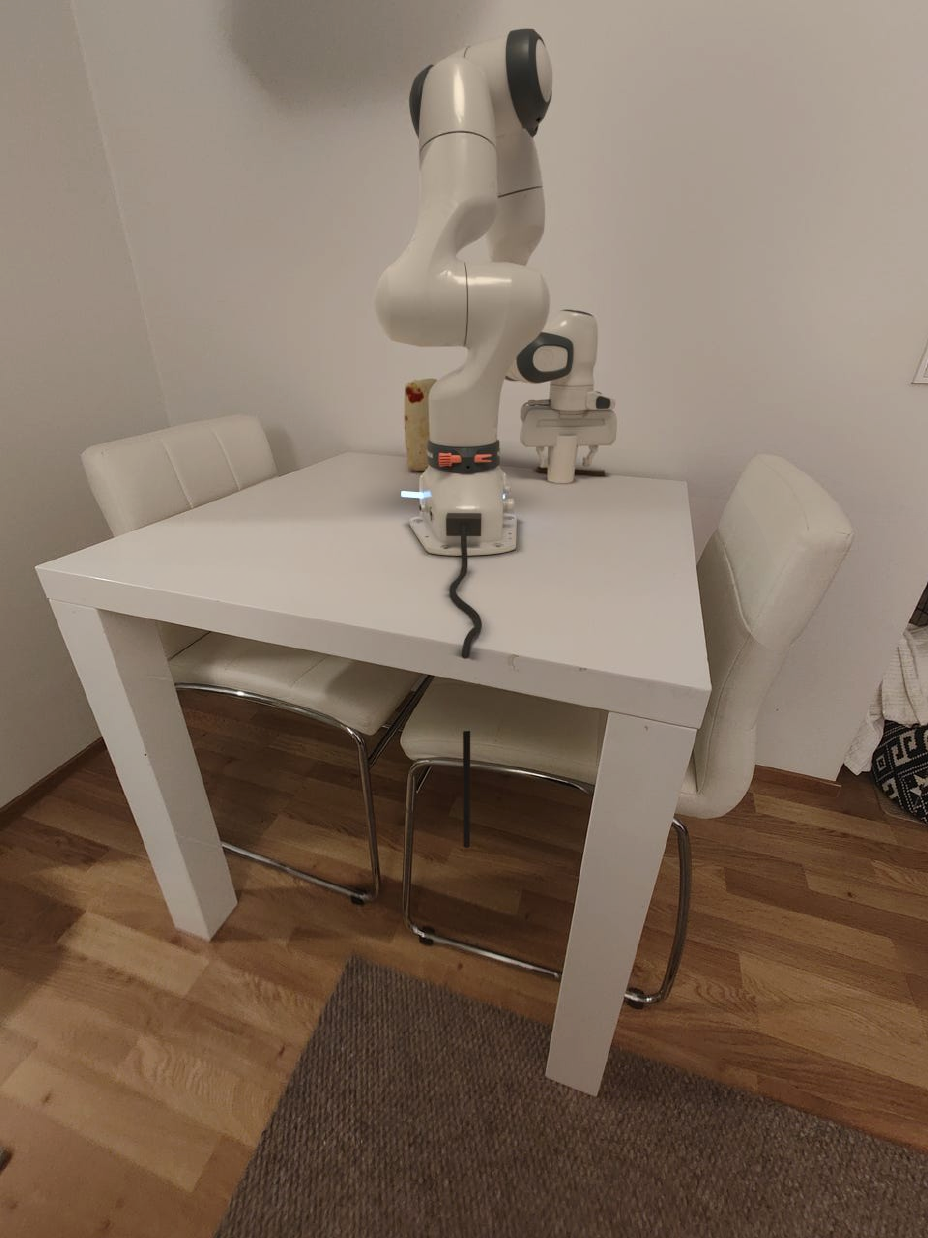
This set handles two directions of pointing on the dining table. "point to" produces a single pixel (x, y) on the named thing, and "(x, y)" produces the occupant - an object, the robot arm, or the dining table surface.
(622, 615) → the dining table surface
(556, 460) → the white cup
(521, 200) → the robot arm
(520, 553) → the dining table surface
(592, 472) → the wooden spoon
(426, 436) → the food model
